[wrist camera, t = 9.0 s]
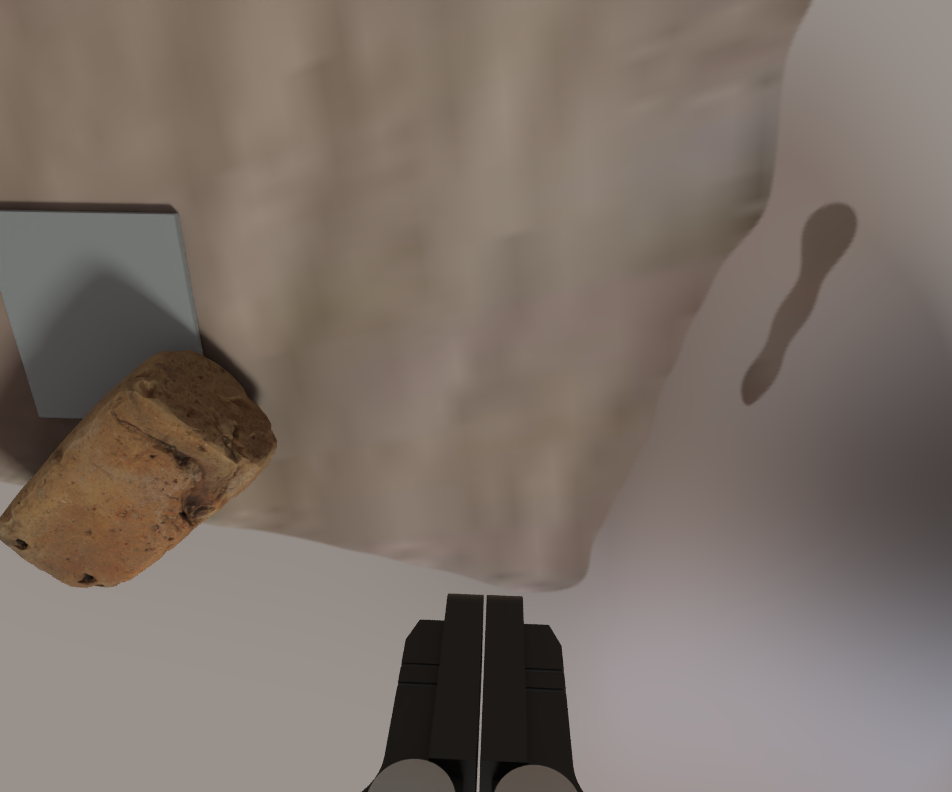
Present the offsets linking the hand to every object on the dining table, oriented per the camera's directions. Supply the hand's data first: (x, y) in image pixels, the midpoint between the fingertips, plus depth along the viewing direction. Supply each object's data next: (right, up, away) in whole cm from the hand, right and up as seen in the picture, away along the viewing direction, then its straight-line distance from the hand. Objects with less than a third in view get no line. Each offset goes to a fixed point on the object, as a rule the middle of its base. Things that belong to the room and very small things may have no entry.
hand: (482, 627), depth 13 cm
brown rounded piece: (-17, +4, +30) cm, 35 cm away
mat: (-26, +10, +33) cm, 43 cm away
